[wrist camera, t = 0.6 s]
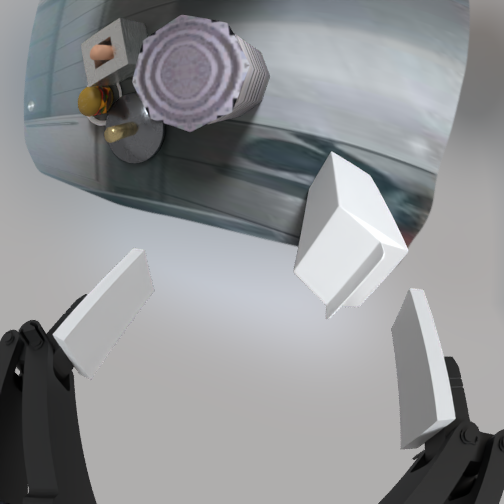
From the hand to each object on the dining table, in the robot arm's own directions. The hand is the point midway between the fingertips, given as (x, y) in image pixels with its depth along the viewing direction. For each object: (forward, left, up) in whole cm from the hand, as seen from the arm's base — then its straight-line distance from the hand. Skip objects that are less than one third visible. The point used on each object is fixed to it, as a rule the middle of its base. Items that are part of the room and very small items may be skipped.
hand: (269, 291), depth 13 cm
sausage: (-22, -21, -25) cm, 40 cm away
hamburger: (-17, -28, -26) cm, 42 cm away
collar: (-22, -21, -25) cm, 40 cm away
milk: (+3, +4, -25) cm, 26 cm away
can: (-13, -8, -25) cm, 30 cm away
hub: (-10, -23, -25) cm, 36 cm away
